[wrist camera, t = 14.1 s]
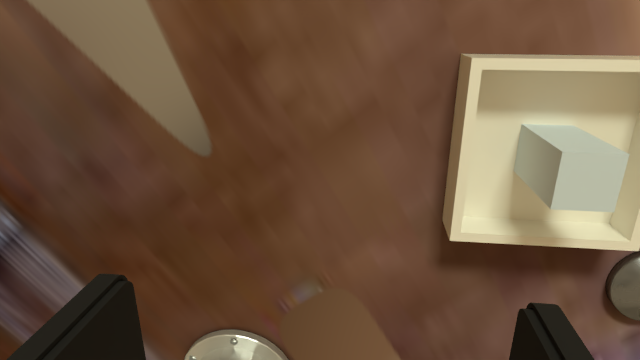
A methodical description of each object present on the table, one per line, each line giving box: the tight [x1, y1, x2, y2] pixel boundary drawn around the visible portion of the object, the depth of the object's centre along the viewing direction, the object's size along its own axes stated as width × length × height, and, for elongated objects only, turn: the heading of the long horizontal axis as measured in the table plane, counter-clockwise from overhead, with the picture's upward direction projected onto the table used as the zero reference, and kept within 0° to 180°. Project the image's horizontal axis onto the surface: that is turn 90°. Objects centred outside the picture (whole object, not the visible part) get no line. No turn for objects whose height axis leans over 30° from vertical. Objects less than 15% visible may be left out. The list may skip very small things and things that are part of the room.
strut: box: [514, 124, 630, 212], centre depth 32 cm, size 4×4×8 cm
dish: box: [442, 54, 640, 251], centre depth 34 cm, size 15×15×4 cm
